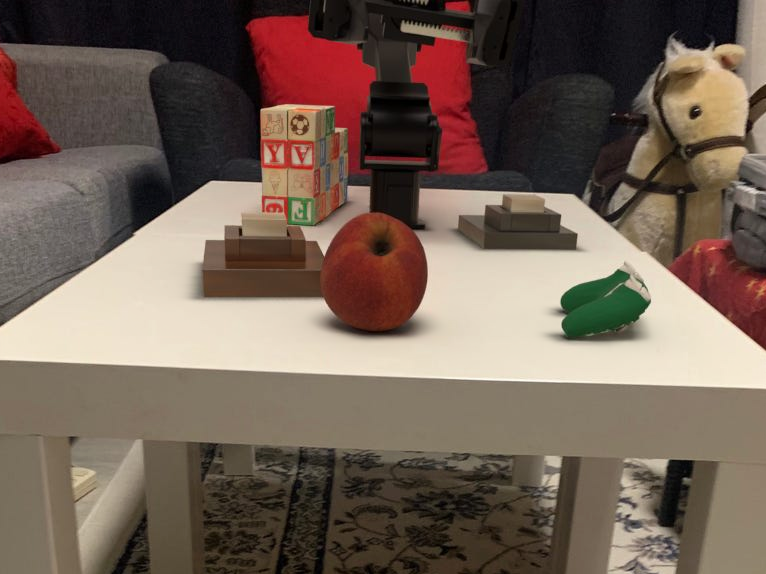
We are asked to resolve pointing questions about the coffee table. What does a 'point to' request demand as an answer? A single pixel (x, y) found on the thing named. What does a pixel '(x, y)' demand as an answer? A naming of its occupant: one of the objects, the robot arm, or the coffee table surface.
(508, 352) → the coffee table surface
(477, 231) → the grey stepped pedestal
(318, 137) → the stack of blocks
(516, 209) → the key
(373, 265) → the apple
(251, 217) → the key
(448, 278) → the coffee table surface
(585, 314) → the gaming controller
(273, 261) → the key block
